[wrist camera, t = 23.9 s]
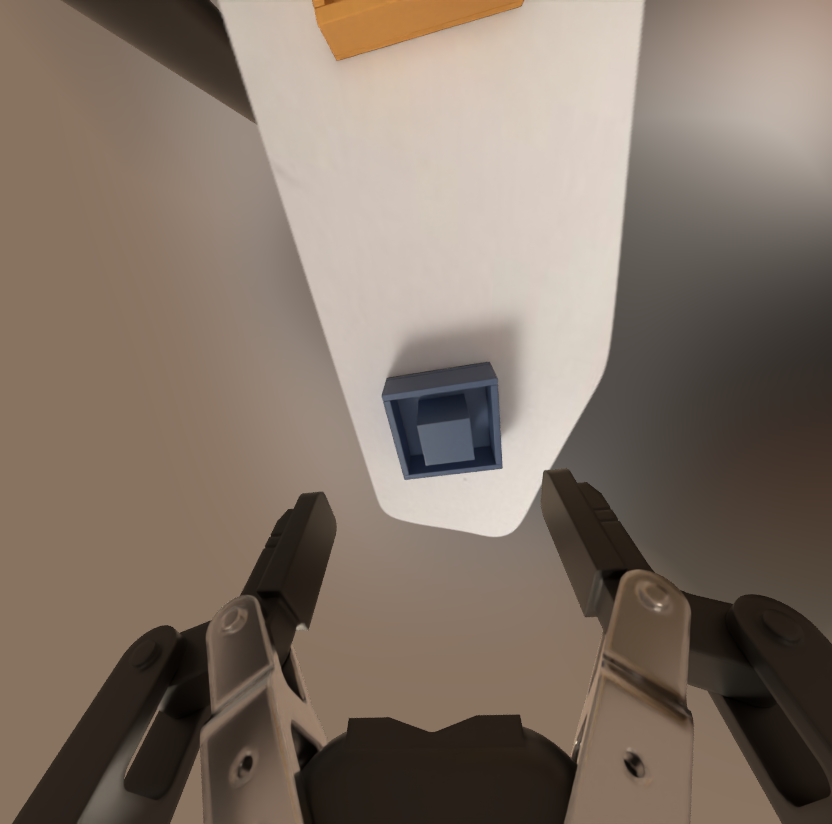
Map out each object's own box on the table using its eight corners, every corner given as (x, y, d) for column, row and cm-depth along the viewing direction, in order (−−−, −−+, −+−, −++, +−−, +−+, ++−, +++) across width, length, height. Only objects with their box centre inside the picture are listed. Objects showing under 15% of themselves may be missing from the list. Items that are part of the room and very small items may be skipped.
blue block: (418, 400, 29) (416, 425, 25) (464, 393, 28) (469, 418, 25) (426, 437, 31) (425, 466, 27) (469, 431, 31) (475, 459, 27)
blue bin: (386, 377, 29) (381, 395, 25) (489, 361, 27) (497, 377, 24) (406, 457, 33) (404, 480, 30) (495, 446, 32) (502, 468, 29)
